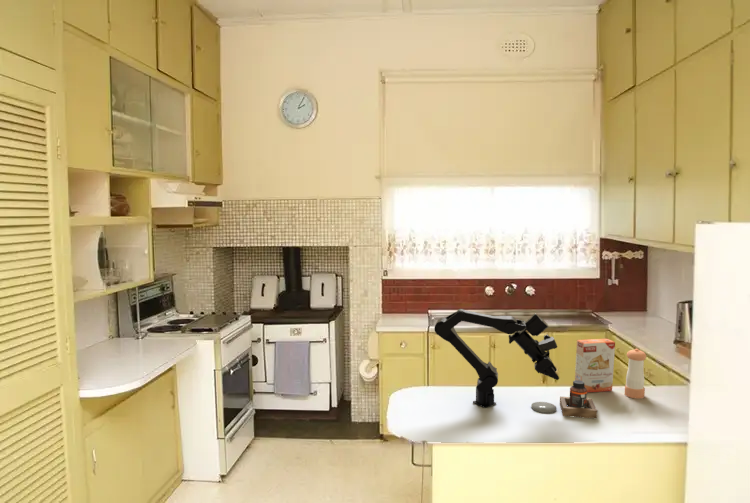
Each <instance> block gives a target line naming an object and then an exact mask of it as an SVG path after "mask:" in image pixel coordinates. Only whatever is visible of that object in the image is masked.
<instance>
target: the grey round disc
mask: <svg viewBox="0 0 750 503" xmlns="http://www.w3.org/2000/svg"><path fill="white" fill-rule="evenodd" d="M530 408H531V409H532V410H533V411H534V412H537V413H541V414H553V413H555V412H557V406H556V405H555V404H553V403H550V402H546V401H535V402H532V403H531V406H530ZM552 412H553V413H552Z"/></svg>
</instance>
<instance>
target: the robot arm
mask: <svg viewBox="0 0 750 503" xmlns="http://www.w3.org/2000/svg"><path fill="white" fill-rule="evenodd" d="M461 322H465V323H470V324H476V325H480V326H485V327H490V328H493V329H496V330H497V331H499V332H501V333H504V334H507V335H508V344H513V342H515V343H516V344H517V345H518V346H519V347H520V349H522V351H523V353H524V354H525V355H527V356H528V357H529V358H530V359H531V362H532V363H533V364H534V366H533V367H534V371H536V372H537V373H538V374H542V375H544V376H547V377H549V378H551V379H554V380H556V381H559V379H560V377H559V375H558V373H557V371H558V369H557V367H556V366H555V364H554V363H553V360H552V358H551V357H550V350H553V349H554V350H555V349H557V348H558V344H557V342H556V340H555V338H554V336H550V335H549V334H546V335H543V339H542V340H540V341H539V340H538V339H534V337H538V336H540V334H542V333H543V332H544V331H545V330H546V329H548V328H549V324H548V323H547V322H546V321H545V320H544V319H543V317H541V316H540V315H538V314H537V313H536V312H535V313H534V314H532V315H531V316H530V317H529V318H528V319H527V320H526V321H525V320H521V319H516V317H515V316H513V315H490V314H486V313H480V312H474V311H471V310H465V309H464V308H459V309H457V310H456V311H455V312H453V313H451V314H449V315H447V316H446V317H440V318H439V319H438V320H437V321H436V323H435V325H434V332H435V334H436V335H437V336H438V337H440V338H441V339H443V340H444V341H446V342H448V343H449V344H451V345H452V347H453V348H455V349H456V351H457V352H458V353H459V354H460V355H461V356H462V358H464V359H465V361H467V362H468V363H469V365H470V366H471V367H472V368H473V369H474V370H475V372H476V374H477V376H478V378H477V382H476V385H475V386H476V387H475V400H473V401H472V403H473V404H475V405H477V406H480V407H482V408H484V409H485V408H488V407H491V406H494V405H497V402H496V401H495V393H494V389H493V388H494V387H496V386H497V385H498V382H499V373H498V371H497V368H496V367H495V366H494V365H493V364H492V362H491V361H488V362H484V361H483V360H482V359H481V357H479V356H478V355H477V353H475V351H474V350H473V349H472V348H471V347H470V346H469V345H468V344H467V343H466V342H465V341H464V340H463V339H462V338H461V337H460V335H458V332H457V331H456V329H455V327H456V326H457V325H458V324H460V323H461Z"/></svg>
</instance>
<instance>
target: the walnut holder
mask: <svg viewBox="0 0 750 503" xmlns="http://www.w3.org/2000/svg"><path fill="white" fill-rule="evenodd" d="M569 401H570V396H559V406H560V410H562V411H561V414H562V417H570V416H574V417H573V418H582V417H584V418H585V419H594V418H597V419H598V410H597V407H596V405H595V403H594V400H593V398H589V397H588V398H587V402H586V408H576V407H569ZM567 405H568V406H567ZM587 407H588V408H587ZM584 418H583V419H584Z"/></svg>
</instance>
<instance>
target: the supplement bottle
mask: <svg viewBox="0 0 750 503" xmlns="http://www.w3.org/2000/svg"><path fill="white" fill-rule="evenodd" d="M584 386H585V385H584V382H583V381H580V380H575V379H574V380H573V381H572V385H571V386H570V387H569V397H570V401H569V406H568V407H576V408H587V407H586V402H587V397H588V392H587V389H586V388H585V387H584Z"/></svg>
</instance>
